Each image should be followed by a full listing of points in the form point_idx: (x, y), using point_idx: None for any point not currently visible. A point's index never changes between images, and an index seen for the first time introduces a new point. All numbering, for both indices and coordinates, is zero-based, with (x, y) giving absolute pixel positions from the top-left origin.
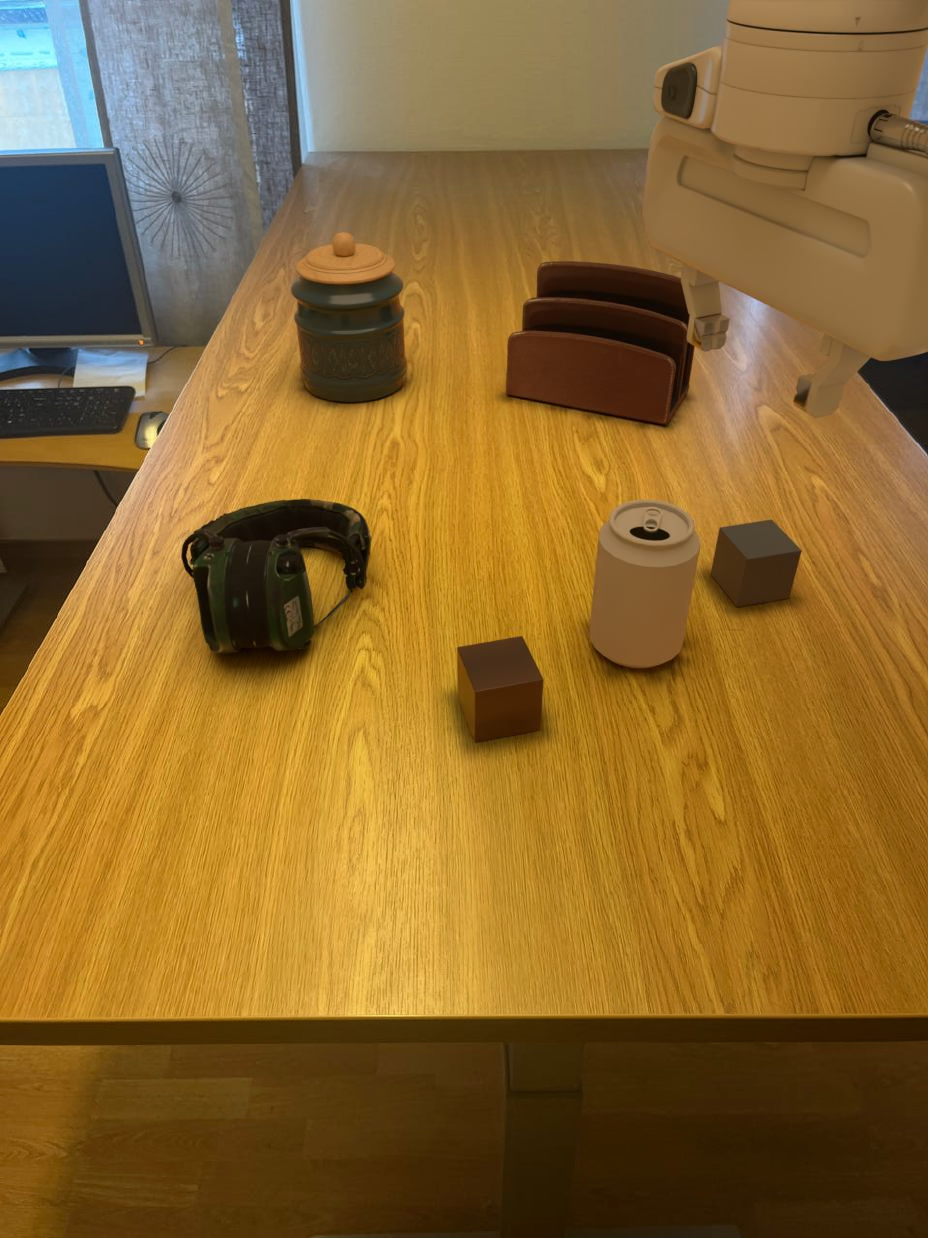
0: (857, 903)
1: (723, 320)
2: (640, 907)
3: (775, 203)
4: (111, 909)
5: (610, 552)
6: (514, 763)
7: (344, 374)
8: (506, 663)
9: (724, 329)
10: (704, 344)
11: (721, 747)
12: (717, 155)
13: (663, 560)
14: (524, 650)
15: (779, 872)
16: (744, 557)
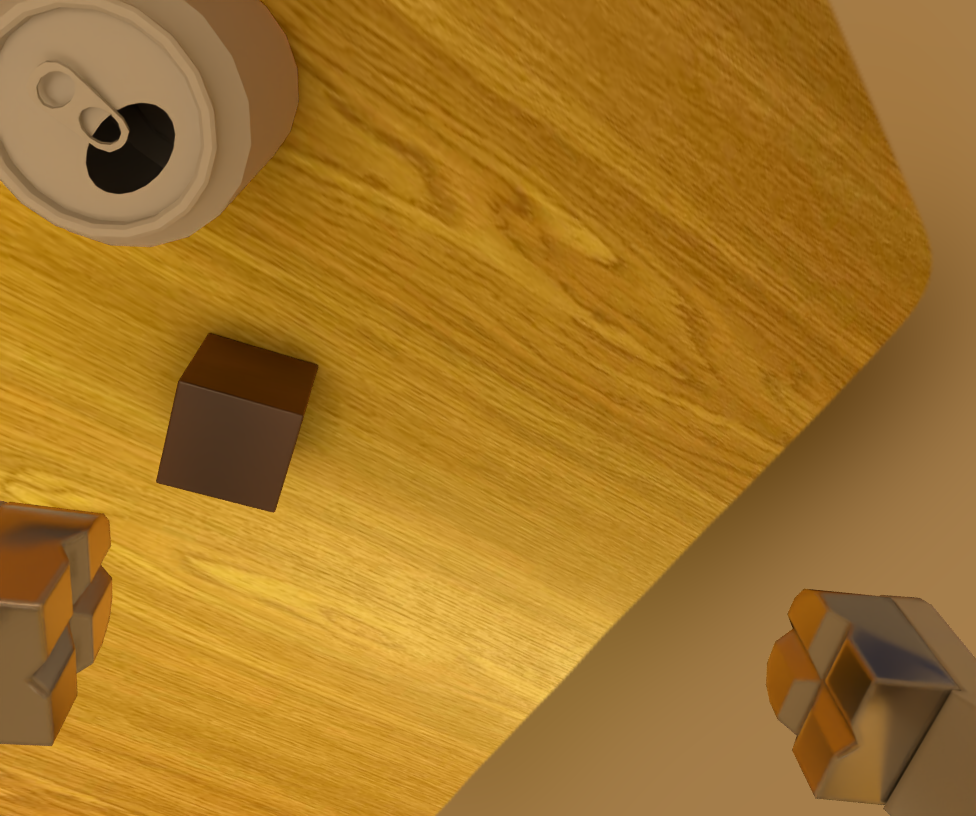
0: (826, 214)
1: (43, 637)
2: (639, 438)
3: None
4: (315, 812)
5: (130, 245)
6: (356, 430)
7: None
8: (235, 441)
9: (67, 581)
10: (97, 633)
11: (512, 147)
12: None
13: (231, 175)
14: (218, 399)
15: (725, 262)
16: None
